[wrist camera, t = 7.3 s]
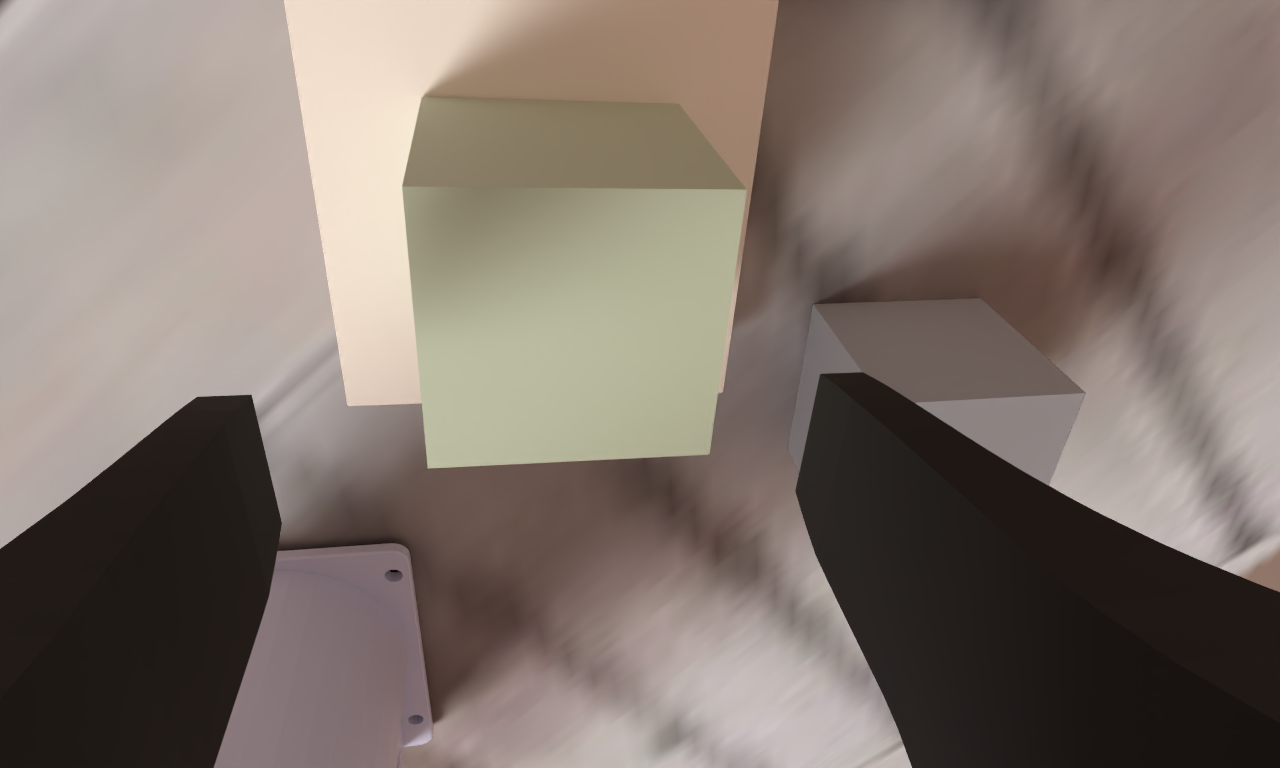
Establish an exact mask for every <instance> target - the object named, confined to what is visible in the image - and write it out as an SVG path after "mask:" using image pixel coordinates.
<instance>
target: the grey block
mask: <svg viewBox="0 0 1280 768" xmlns="http://www.w3.org/2000/svg"><path fill="white" fill-rule="evenodd" d="M854 372H863V373H865V374H867V375H869V376H871V377H873V378H875V379H877V380H878V381H880V382H882V383H884V384H885V385H887V386H889V387H890V388H892V389H894V390H895V391H897V392H898V393H900V394H901V395H903V396H905V397H906V398H908V399H909V400H911V401H913V402H914V403H916V404H917V405H919V406H920V407H922V408H923V409H925V410H926V411H928V412H930V413H931V414H933V415H934V416H936V417H937V418H939V419H940V420H942V421H943V422H945V423H947V424H948V425H950V426H951V427H953V428H954V429H956V430H957V431H959V432H961V433H962V434H964V435H965V436H967V437H968V438H970V439H972V440H973V441H975V442H976V443H978V444H979V445H981V446H983V447H984V448H986V449H987V450H989V451H991V452H992V453H994V454H995V455H997V456H999V457H1000V458H1002V459H1004V460H1005V461H1007V462H1009V463H1010V464H1012V465H1014V466H1015V467H1017V468H1019V469H1020V470H1022V471H1024V472H1025V473H1027V474H1029V475H1031V476H1032V477H1034V478H1036V479H1038V480H1039V481H1041V482H1043V483H1045V484H1046V485H1049V483H1050V481H1051V478H1052V476H1053V473H1054V471H1055V468H1056V466H1057V463H1058V461H1059V458H1060V456H1061V453H1062V451H1063V448H1064V446H1065V443H1066V441H1067V438H1068V436H1069V433H1070V431H1071V429H1072V426H1073V424H1074V421H1075V419H1076V416H1077V414H1078V411H1079V409H1080V406H1081V404H1082V401H1083V399H1084V396H1085V394H1086V393H1085V392H1084V391H1083V390H1082V389H1081V388H1080V387H1079V386H1078V385H1076V384H1075V383H1074V382H1073V381H1072V380H1071V379H1070V378H1069V377H1068V376H1066V375H1065V374H1064V373H1063V372H1062V371H1061V370H1060V369H1059V368H1058V367H1056V366H1055V365H1054V364H1053V363H1052V362H1051V361H1050V360H1049V359H1048V358H1047V357H1045V356H1044V355H1043V354H1042V353H1041V352H1040V351H1039V350H1038V349H1037V348H1035V347H1034V346H1033V345H1032V344H1031V343H1030V342H1029V341H1028V340H1027V339H1026V338H1024V337H1023V336H1022V335H1021V334H1020V333H1019V332H1018V331H1017V330H1016V329H1014V328H1013V327H1012V326H1011V325H1010V324H1009V323H1008V322H1007V321H1006V320H1005V319H1003V318H1002V317H1001V316H1000V315H999V314H998V313H997V312H996V311H995V310H993V309H992V308H991V307H990V306H989V305H988V304H987V303H986V302H985V301H984V300H982V299H981V298H968V299H941V300H914V301H887V302H860V303H833V304H813V308H812V314H811V320H810V325H809V331H808V336H807V342H806V348H805V353H804V359H803V365H802V370H801V376H800V382H799V387H798V393H797V399H796V404H795V410H794V415H793V421H792V427H791V432H790V438H789V444H788V451H789V453H790V455H791V457H792V459H793V461H794V463H795V465H796V467H797V469H798V471H799V472H800V467H801V463H802V458H803V453H804V448H805V444H806V439H807V434H808V429H809V424H810V420H811V415H812V410H813V405H814V401H815V396H816V391H817V386H818V381H819V377H820V374H827V373H854Z"/></svg>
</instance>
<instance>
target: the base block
mask: <svg viewBox="0 0 1280 768" xmlns="http://www.w3.org/2000/svg"><path fill="white" fill-rule="evenodd" d="M284 4H285V10H286V17H287V23H288V29H289V36H290V42H291V48H292V55H293V61H294V68H295V74H296V80H297V87H298V93H299V100H300V106H301V112H302V119H303V125H304V131H305V138H306V144H307V151H308V157H309V163H310V170H311V176H312V183H313V189H314V195H315V202H316V208H317V214H318V221H319V227H320V234H321V240H322V246H323V253H324V259H325V266H326V272H327V278H328V285H329V291H330V297H331V304H332V310H333V317H334V323H335V329H336V336H337V342H338V349H339V355H340V361H341V368H342V374H343V380H344V387H345V393H346V400H347V406H364V405H393V404H421V403H422V401H421V390H420V379H419V368H418V357H417V346H416V335H415V324H414V313H413V302H412V291H411V280H410V269H409V258H408V247H407V236H406V225H405V214H404V203H403V192H402V184H403V180H404V175H405V171H406V166H407V161H408V157H409V152H410V148H411V143H412V139H413V134H414V130H415V125H416V120H417V116H418V111H419V107H420V102H421V98H422V97H451V98H486V99H522V100H558V101H593V102H629V103H665V104H679V105H680V106H681V107H682V108H683V110H684V111H685V112H686V114H687V115H688V116H689V117H690V119H691V120H692V121H693V122H694V124H695V125H696V126H697V127H698V129H699V130H700V131H701V132H702V134H703V135H704V136H705V137H706V139H707V140H708V141H709V142H710V144H711V145H712V146H713V148H714V149H715V150H716V151H717V153H718V154H719V155H720V156H721V158H722V159H723V160H724V161H725V163H726V164H727V165H728V166H729V168H730V169H731V170H732V171H733V173H734V174H735V175H736V176H737V178H738V179H739V180H740V182H741V183H742V184H743V185H744V187H745V188H746V189H747V193H746V200H745V207H744V214H743V221H742V228H741V235H740V242H739V249H738V256H737V263H736V270H735V277H734V284H733V291H732V298H731V305H730V312H729V320H728V327H727V334H726V341H725V348H724V355H723V362H722V369H721V376H720V383H719V390H718V393H723V388H724V381H725V374H726V367H727V360H728V353H729V346H730V339H731V332H732V325H733V319H734V312H735V305H736V298H737V291H738V284H739V277H740V270H741V263H742V256H743V249H744V242H745V235H746V228H747V221H748V214H749V207H750V200H751V193H752V186H753V179H754V172H755V165H756V158H757V151H758V144H759V137H760V130H761V123H762V116H763V109H764V102H765V95H766V88H767V81H768V74H769V67H770V60H771V53H772V46H773V39H774V32H775V25H776V18H777V11H778V4H779V0H284Z"/></svg>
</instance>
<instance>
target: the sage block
mask: <svg viewBox="0 0 1280 768" xmlns="http://www.w3.org/2000/svg"><path fill="white" fill-rule="evenodd" d="M402 192H403V203H404V214H405V225H406V236H407V247H408V258H409V269H410V280H411V291H412V302H413V313H414V324H415V335H416V346H417V357H418V368H419V379H420V390H421V401H422V412H423V423H424V434H425V445H426V456H427V467H428V468H449V467H469V466H489V465H509V464H529V463H550V462H570V461H590V460H610V459H631V458H651V457H671V456H691V455H709V453H710V446H711V439H712V432H713V425H714V418H715V411H716V404H717V397H718V390H719V383H720V376H721V369H722V362H723V355H724V348H725V341H726V334H727V327H728V320H729V312H730V305H731V298H732V291H733V284H734V277H735V270H736V263H737V256H738V249H739V242H740V235H741V228H742V221H743V214H744V207H745V200H746V193H747V189H746V188H745V187H744V185H743V184H742V183H741V182H740V180H739V179H738V178H737V176H736V175H735V174H734V173H733V171H732V170H731V169H730V168H729V166H728V165H727V164H726V163H725V161H724V160H723V159H722V158H721V156H720V155H719V154H718V153H717V151H716V150H715V149H714V148H713V146H712V145H711V144H710V142H709V141H708V140H707V139H706V137H705V136H704V135H703V134H702V132H701V131H700V130H699V129H698V127H697V126H696V125H695V124H694V122H693V121H692V120H691V119H690V117H689V116H688V115H687V114H686V112H685V111H684V110H683V108H682V107H681V106H680V105H679V104H665V103H629V102H593V101H558V100H522V99H486V98H451V97H422V98H421V102H420V107H419V111H418V116H417V120H416V125H415V130H414V134H413V139H412V143H411V148H410V152H409V157H408V161H407V166H406V171H405V175H404V180H403V184H402Z"/></svg>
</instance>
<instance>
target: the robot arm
mask: <svg viewBox="0 0 1280 768" xmlns="http://www.w3.org/2000/svg"><path fill="white" fill-rule="evenodd" d="M796 495H797V498H798V501H799V505H800V508H801V511H802V514H803V518H804V521H805V524H806V528H807V531H808V533H809V536H810V539H811V542H812V545H813V548H814V551H815V554H816V556H817V559H818V561H819V563H820V565H821V567H822V569H823V572H824V574H825V576H826V578H827V580H828V582H829V584H830V586H831V588H832V591H833V593H834V595H835V597H836V599H837V601H838V603H839V605H840V607H841V609H842V611H843V613H844V615H845V617H846V620H847V622H848V624H849V626H850V628H851V630H852V632H853V634H854V636H855V638H856V640H857V642H858V644H859V646H860V648H861V650H862V652H863V654H864V656H865V658H866V660H867V663H868V665H869V667H870V669H871V671H872V673H873V675H874V677H875V679H876V681H877V683H878V685H879V687H880V689H881V691H882V693H883V695H884V698H885V700H886V702H887V704H888V707H889V709H890V711H891V714H892V716H893V718H894V721H895V723H896V725H897V727H898V730H899V733H900V735H901V738H902V741H903V744H904V746H905V749H906V752H907V755H908V757H909V760H910V763H911V766H912V768H1280V592H1278V591H1275V590H1272V589H1269V588H1267V587H1264V586H1262V585H1259V584H1257V583H1254V582H1251V581H1249V580H1247V579H1244V578H1242V577H1240V576H1237V575H1235V574H1232V573H1230V572H1227V571H1225V570H1222V569H1220V568H1218V567H1215V566H1213V565H1210V564H1208V563H1205V562H1203V561H1200V560H1198V559H1196V558H1193V557H1191V556H1189V555H1186V554H1184V553H1182V552H1180V551H1177V550H1175V549H1173V548H1171V547H1168V546H1166V545H1164V544H1162V543H1159V542H1157V541H1155V540H1153V539H1151V538H1149V537H1147V536H1145V535H1143V534H1141V533H1139V532H1137V531H1135V530H1132V529H1130V528H1128V527H1126V526H1124V525H1122V524H1120V523H1118V522H1116V521H1114V520H1112V519H1110V518H1108V517H1106V516H1104V515H1102V514H1100V513H1098V512H1096V511H1094V510H1092V509H1090V508H1088V507H1086V506H1084V505H1082V504H1081V503H1079V502H1077V501H1075V500H1073V499H1071V498H1069V497H1068V496H1066V495H1064V494H1062V493H1061V492H1059V491H1057V490H1055V489H1053V488H1052V487H1050V486H1048V485H1046V484H1045V483H1043V482H1041V481H1039V480H1038V479H1036V478H1034V477H1032V476H1031V475H1029V474H1027V473H1025V472H1024V471H1022V470H1020V469H1019V468H1017V467H1015V466H1014V465H1012V464H1010V463H1009V462H1007V461H1005V460H1004V459H1002V458H1000V457H999V456H997V455H995V454H994V453H992V452H991V451H989V450H987V449H986V448H984V447H983V446H981V445H979V444H978V443H976V442H975V441H973V440H972V439H970V438H968V437H967V436H965V435H964V434H962V433H961V432H959V431H957V430H956V429H954V428H953V427H951V426H950V425H948V424H947V423H945V422H943V421H942V420H940V419H939V418H937V417H936V416H934V415H933V414H931V413H930V412H928V411H926V410H925V409H923V408H922V407H920V406H919V405H917V404H916V403H914V402H913V401H911V400H909V399H908V398H906V397H905V396H903V395H901V394H900V393H898V392H897V391H895V390H894V389H892V388H890V387H889V386H887V385H885V384H884V383H882V382H880V381H878V380H877V379H875V378H873V377H871V376H869V375H867V374H865V373H863V372H854V373H827V374H820V377H819V381H818V386H817V391H816V396H815V401H814V405H813V410H812V415H811V420H810V424H809V429H808V434H807V439H806V444H805V448H804V453H803V458H802V463H801V467H800V472H799V477H798V482H797V486H796ZM281 525H282V522H281V518H280V514H279V509H278V505H277V501H276V497H275V492H274V488H273V484H272V480H271V476H270V471H269V467H268V463H267V459H266V454H265V450H264V446H263V442H262V437H261V433H260V429H259V425H258V421H257V416H256V412H255V408H254V404H253V399H252V395H237V396H210V397H197V398H195V399H194V400H192V401H191V402H190V403H188V404H187V405H185V406H184V407H183V408H181V409H180V410H179V411H178V412H176V413H175V414H174V415H172V416H171V417H170V418H169V419H167V420H166V421H165V422H164V423H162V424H161V425H160V426H159V427H158V428H156V429H155V430H154V431H153V432H151V433H150V434H149V435H148V436H147V437H145V438H144V439H143V440H142V441H140V442H139V443H138V444H137V445H135V446H134V447H133V448H132V449H131V450H129V451H128V452H127V453H126V454H124V455H123V456H122V457H121V458H119V459H118V460H117V461H116V462H114V463H113V464H112V465H111V466H109V467H108V468H107V469H106V470H104V471H103V472H102V473H101V474H99V475H98V476H97V477H96V478H94V479H93V480H92V481H91V482H89V483H88V484H87V485H86V486H84V487H83V488H82V489H81V490H79V491H78V492H77V493H76V494H74V495H73V496H72V497H70V498H69V499H68V500H67V501H65V502H64V503H63V504H61V505H60V506H59V507H57V508H56V509H54V510H53V511H52V512H50V513H49V514H48V515H46V516H45V517H43V518H42V519H41V520H39V521H38V522H37V523H35V524H34V525H33V526H31V527H30V528H28V529H27V530H26V531H24V532H23V533H22V534H20V535H19V536H17V537H16V538H15V539H13V540H12V541H11V542H9V543H8V544H6V545H5V546H4V547H2V548H1V549H0V768H401V766H402V755H403V747H405V746H414V745H421V744H425V743H427V742H429V741H430V740H431V739H432V737H433V721H432V713H431V706H430V698H429V691H428V683H427V676H426V669H425V661H424V654H423V646H422V639H421V631H420V624H419V616H418V609H417V602H416V594H415V587H414V579H413V572H412V564H411V557H410V553H409V550H408V549H407V548H406V547H405V546H403V545H400V544H395V543H388V544H373V545H359V546H345V547H331V548H317V549H302V550H288V551H277V549H278V543H279V537H280V531H281ZM389 570H399V571H400V572H396V573H395V572H390V571H389Z"/></svg>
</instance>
